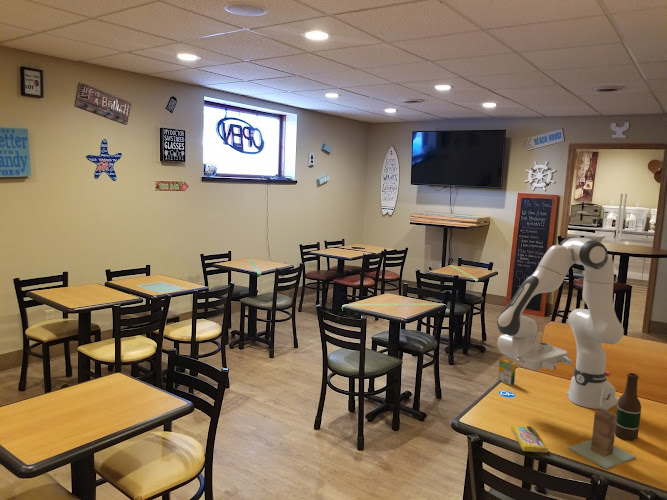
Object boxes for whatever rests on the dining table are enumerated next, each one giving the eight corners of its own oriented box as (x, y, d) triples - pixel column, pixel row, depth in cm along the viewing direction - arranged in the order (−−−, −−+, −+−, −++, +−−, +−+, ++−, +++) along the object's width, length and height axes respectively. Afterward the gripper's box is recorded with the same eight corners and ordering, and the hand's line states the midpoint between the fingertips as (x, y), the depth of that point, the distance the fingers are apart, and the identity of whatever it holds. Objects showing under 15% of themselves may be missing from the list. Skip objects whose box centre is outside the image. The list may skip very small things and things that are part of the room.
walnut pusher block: (598, 446, 178) (603, 409, 176) (612, 453, 174) (617, 415, 172) (590, 449, 176) (595, 411, 174) (604, 456, 172) (608, 417, 170)
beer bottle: (609, 430, 192) (616, 370, 188) (628, 430, 192) (635, 370, 189) (622, 441, 184) (629, 378, 181) (642, 441, 185) (650, 378, 181)
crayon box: (514, 384, 234) (516, 359, 232) (510, 385, 232) (512, 361, 231) (501, 378, 240) (503, 355, 238) (497, 379, 238) (499, 356, 237)
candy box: (548, 447, 174) (523, 446, 174) (548, 453, 174) (523, 452, 174) (533, 424, 190) (510, 424, 190) (533, 430, 190) (510, 429, 190)
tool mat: (597, 439, 185) (597, 437, 185) (635, 458, 173) (635, 456, 173) (568, 448, 178) (568, 447, 178) (605, 469, 165) (605, 467, 165)
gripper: (514, 351, 196) (544, 362, 184) (550, 342, 206) (580, 352, 194) (513, 366, 197) (543, 378, 185) (549, 357, 207) (579, 368, 195)
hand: (562, 365), depth 190 cm, fingers open, 8 cm apart
